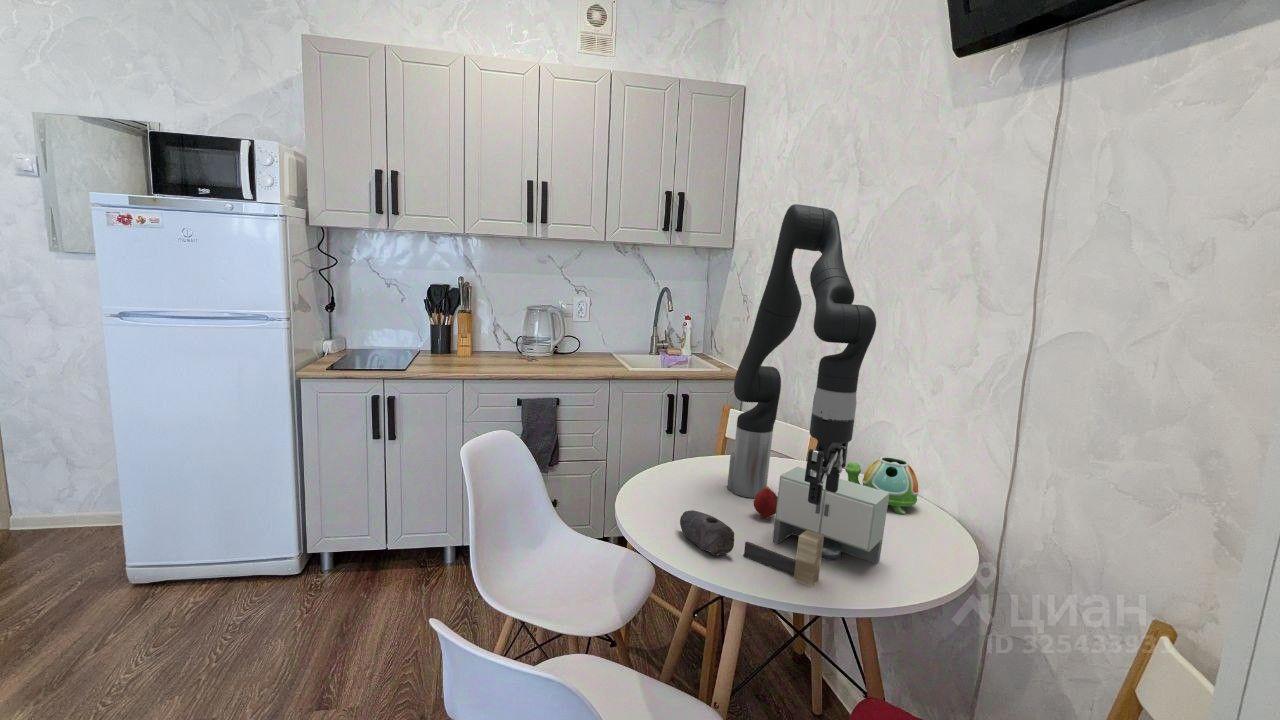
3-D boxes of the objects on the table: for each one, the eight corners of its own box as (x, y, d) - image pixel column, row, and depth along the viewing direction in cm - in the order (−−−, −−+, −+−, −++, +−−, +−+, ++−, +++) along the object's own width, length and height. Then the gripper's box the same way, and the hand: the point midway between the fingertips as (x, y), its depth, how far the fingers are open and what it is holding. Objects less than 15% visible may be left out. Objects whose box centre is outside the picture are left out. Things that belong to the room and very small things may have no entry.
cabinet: (770, 543, 132) (778, 476, 130) (789, 529, 140) (797, 466, 137) (864, 578, 120) (874, 505, 118) (879, 561, 128) (889, 492, 125)
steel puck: (811, 555, 129) (813, 544, 128) (821, 547, 132) (822, 536, 132) (834, 563, 126) (836, 552, 125) (843, 555, 129) (845, 544, 129)
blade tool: (810, 587, 115) (816, 542, 114) (740, 558, 125) (744, 516, 123) (818, 580, 118) (824, 536, 117) (748, 552, 127) (753, 511, 126)
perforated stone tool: (671, 532, 134) (673, 502, 133) (690, 528, 137) (693, 499, 136) (714, 564, 122) (718, 531, 120) (735, 558, 124) (738, 526, 123)
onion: (778, 516, 147) (782, 484, 145) (775, 525, 141) (779, 492, 140) (754, 511, 149) (757, 479, 147) (750, 520, 143) (753, 487, 142)
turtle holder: (845, 487, 169) (850, 445, 167) (916, 502, 162) (923, 459, 160) (838, 502, 158) (844, 457, 156) (914, 519, 151) (922, 473, 149)
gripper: (827, 403, 121) (817, 482, 123) (798, 415, 109) (788, 501, 112) (866, 411, 116) (855, 493, 119) (839, 424, 105) (828, 514, 107)
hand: (822, 497), depth 115 cm, fingers open, 8 cm apart
